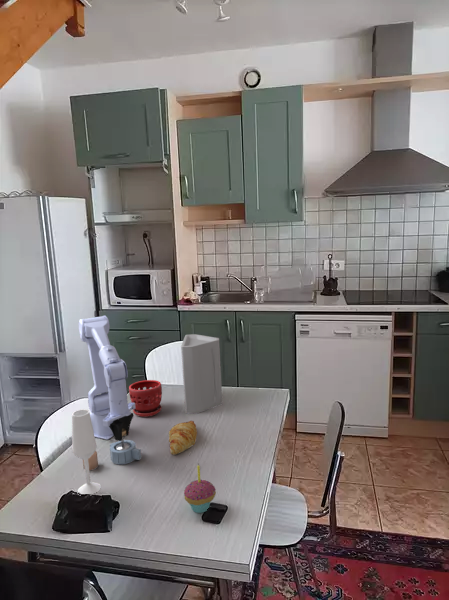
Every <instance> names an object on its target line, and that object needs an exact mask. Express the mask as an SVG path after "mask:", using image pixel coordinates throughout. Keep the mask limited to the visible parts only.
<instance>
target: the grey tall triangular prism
mask: <svg viewBox="0 0 449 600" xmlns="http://www.w3.org/2000/svg"><path fill="white" fill-rule="evenodd" d="M180 351H181V363H182V366H181V367H182V380H183V395H184V397H183V398H184V408H185V409H184V410H185V411H184V412H185V414H186V415H195V414H199V413H200V414H201V413H202V412H205V411H207V410H211V409H213V408H215V407H218V406H222V405H223V390H222V389H223V388H222V372H221V371H222V370H221V367H222V366H221V352H220V351H221V349H220V337H215V336H214V337H213V336H208V335H204V334H202V335H201V334H195V333H192V334H191V333H190V334H185V336H184V338H183V341H182V343H181V346H180Z"/></svg>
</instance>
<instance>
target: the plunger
mask: <svg viewBox="0 0 449 600" xmlns="http://www.w3.org/2000/svg"><path fill="white" fill-rule="evenodd" d="M124 437H127V436H126V429H122V440H121V444H119V445H117V446H116V450H118V451H123V450H127V449H129V448H130V444H128V443H124V440H125V439H124Z"/></svg>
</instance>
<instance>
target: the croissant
mask: <svg viewBox="0 0 449 600" xmlns="http://www.w3.org/2000/svg"><path fill="white" fill-rule="evenodd" d="M197 436H198V429H197V424H196V423H195V421H194V420H189V421H186V422H179V423H177V424H176V425H174V426H172V428H171V429H170V430H169V431H168V438H169V439H168V442H169V448H170V449H169V451H170V455H172V456H174V455H179V454H181V453H184V452H185V451H187V450H188V449H190V448H191V447H192V446H194V445H195V444H196V440H197Z"/></svg>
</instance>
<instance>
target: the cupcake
mask: <svg viewBox="0 0 449 600" xmlns="http://www.w3.org/2000/svg"><path fill="white" fill-rule="evenodd" d="M200 467H201V466H200V463H199V462H197V467H196V468H197V480H194V481H193V480H192V481H191V482H189V484H187V485H186V487H185V488H184V490H183V491H184V492H183V496H184V500H185V501H186V503H188V504H189V506H190V507H191V510H192V511H193V512H195V513H197V514H202V513H204V512H207V511H208V510H209V509H208V508H210V505H211V502H212V501H213V500H214V499H215V496H216V493H217V491H216V490H217V489H216V487H215V485H213V483H211V481H208V480H206V479H201V468H200ZM207 509H208V510H207Z"/></svg>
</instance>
